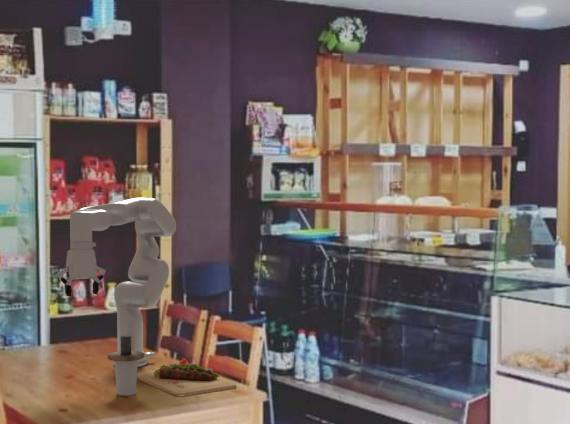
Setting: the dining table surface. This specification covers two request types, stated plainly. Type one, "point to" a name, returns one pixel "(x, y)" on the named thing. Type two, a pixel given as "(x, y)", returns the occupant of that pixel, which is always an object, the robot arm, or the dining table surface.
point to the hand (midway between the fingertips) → (82, 295)
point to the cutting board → (185, 379)
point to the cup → (126, 377)
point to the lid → (126, 352)
